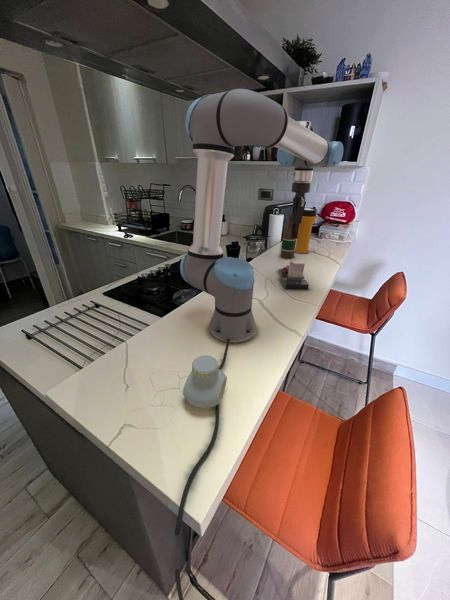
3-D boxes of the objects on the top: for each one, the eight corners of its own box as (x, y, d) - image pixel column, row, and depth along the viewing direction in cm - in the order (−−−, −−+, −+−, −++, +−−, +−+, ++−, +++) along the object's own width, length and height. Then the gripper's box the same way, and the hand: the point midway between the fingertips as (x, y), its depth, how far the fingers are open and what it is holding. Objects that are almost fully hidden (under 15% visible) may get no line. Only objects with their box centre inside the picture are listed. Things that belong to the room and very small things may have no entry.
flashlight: (300, 209, 144) (298, 206, 152) (294, 253, 156) (291, 248, 165) (318, 209, 143) (315, 207, 152) (310, 254, 155) (307, 249, 164)
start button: (293, 271, 124) (294, 268, 123) (286, 271, 124) (286, 267, 123) (292, 268, 127) (292, 265, 127) (284, 268, 127) (285, 265, 126)
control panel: (308, 289, 113) (309, 284, 111) (285, 289, 112) (285, 283, 111) (301, 279, 122) (302, 274, 121) (280, 279, 122) (281, 274, 121)
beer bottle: (277, 255, 153) (282, 213, 141) (288, 253, 156) (293, 212, 144) (285, 259, 147) (291, 216, 135) (296, 257, 150) (302, 215, 138)
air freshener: (215, 418, 56) (215, 385, 51) (180, 409, 58) (177, 376, 53) (228, 381, 65) (229, 351, 60) (198, 375, 67) (196, 344, 62)
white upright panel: (300, 278, 117) (303, 261, 113) (301, 280, 115) (304, 263, 111) (287, 278, 117) (289, 260, 113) (288, 280, 115) (291, 262, 111)
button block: (299, 279, 123) (300, 273, 121) (282, 278, 123) (283, 273, 121) (294, 271, 131) (295, 265, 130) (278, 270, 131) (279, 265, 130)
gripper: (289, 180, 113) (282, 234, 124) (296, 183, 101) (288, 241, 112) (306, 181, 113) (298, 234, 124) (315, 183, 101) (305, 242, 113)
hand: (293, 238), depth 118 cm, fingers closed
